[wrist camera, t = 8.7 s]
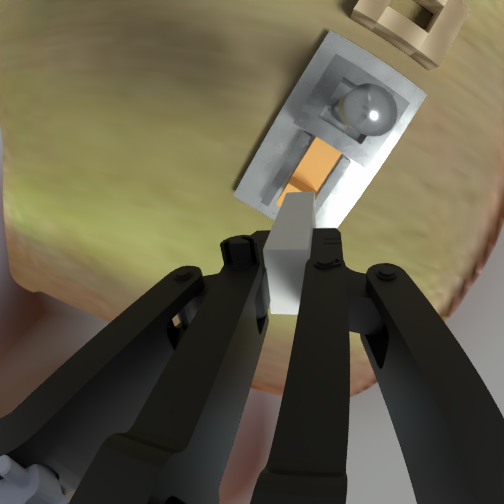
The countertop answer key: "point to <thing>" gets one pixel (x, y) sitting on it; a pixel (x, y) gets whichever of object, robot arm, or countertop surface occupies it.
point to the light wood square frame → (415, 27)
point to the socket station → (328, 132)
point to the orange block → (311, 169)
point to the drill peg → (367, 110)
